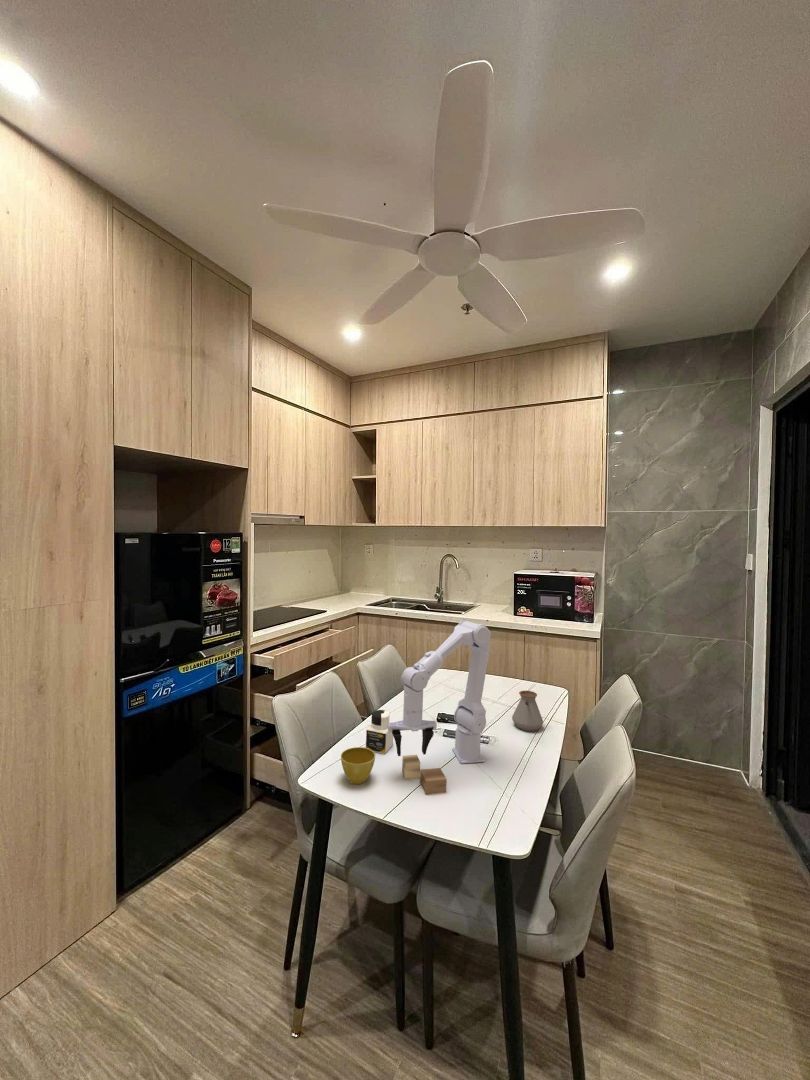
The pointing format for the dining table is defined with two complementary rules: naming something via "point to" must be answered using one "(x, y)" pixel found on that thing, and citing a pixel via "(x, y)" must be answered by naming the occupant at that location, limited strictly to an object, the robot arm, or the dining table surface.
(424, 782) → the walnut plinth
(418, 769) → the beech cube
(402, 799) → the dining table surface
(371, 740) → the medicine bottle
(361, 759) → the flower pot
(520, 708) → the coffee pot
